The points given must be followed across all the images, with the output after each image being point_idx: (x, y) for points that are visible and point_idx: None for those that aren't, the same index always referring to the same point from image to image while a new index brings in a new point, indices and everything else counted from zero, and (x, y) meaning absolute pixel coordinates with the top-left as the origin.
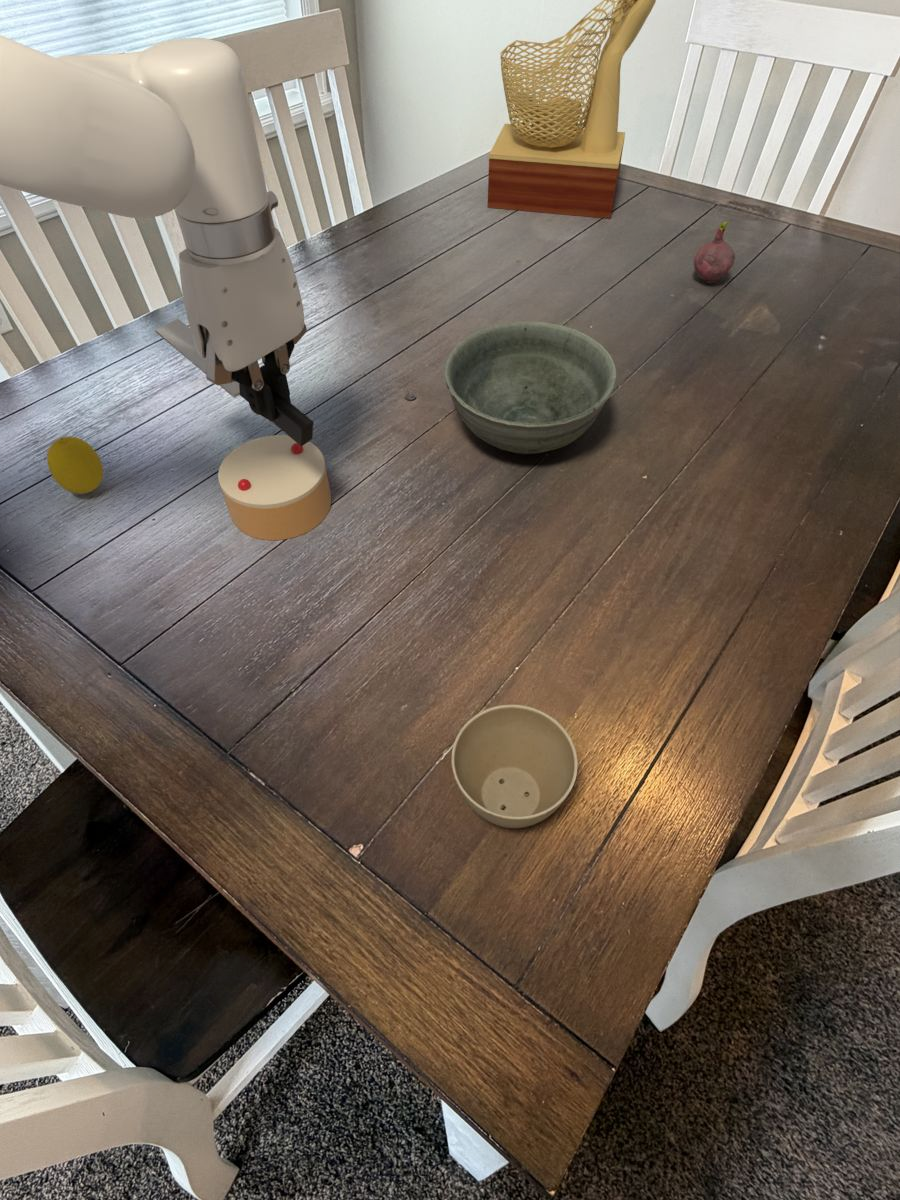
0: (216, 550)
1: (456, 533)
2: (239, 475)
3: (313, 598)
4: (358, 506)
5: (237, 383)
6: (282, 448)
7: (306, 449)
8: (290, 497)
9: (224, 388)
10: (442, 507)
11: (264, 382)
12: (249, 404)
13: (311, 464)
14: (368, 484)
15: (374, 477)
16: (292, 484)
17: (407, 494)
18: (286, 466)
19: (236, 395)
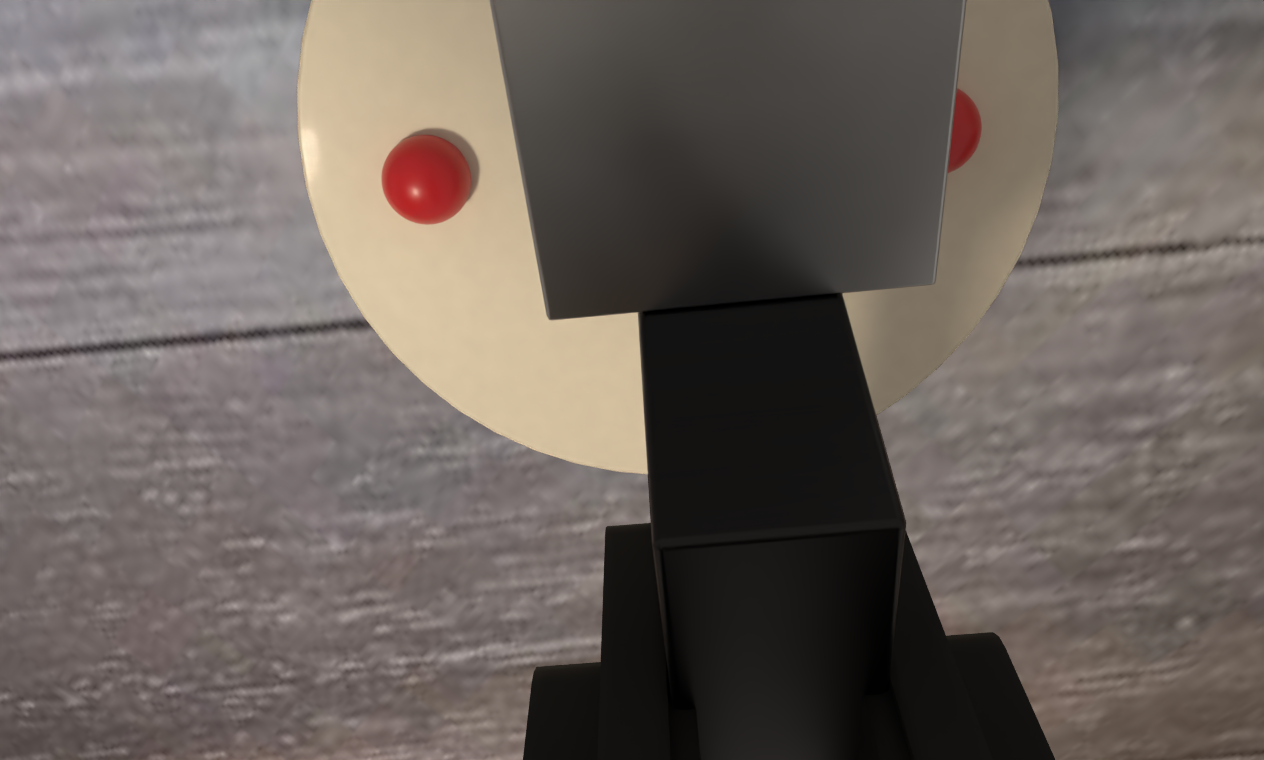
0: (192, 117)
1: (1060, 756)
2: (463, 49)
3: (405, 638)
4: (932, 382)
5: (731, 179)
6: None
7: (978, 167)
8: (586, 452)
9: (520, 154)
10: (1162, 634)
11: (865, 726)
12: (530, 705)
13: (882, 312)
14: (1096, 297)
15: (1162, 279)
16: None
17: (1147, 480)
18: None
19: (586, 311)
